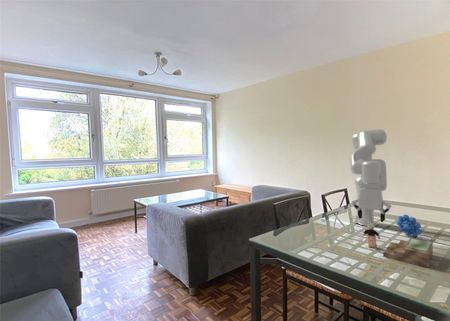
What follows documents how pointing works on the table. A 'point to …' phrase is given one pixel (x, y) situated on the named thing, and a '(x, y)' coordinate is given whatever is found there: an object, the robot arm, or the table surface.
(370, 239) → the grandmother figurine
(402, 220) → the grapes
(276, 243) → the table surface
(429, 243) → the step riser
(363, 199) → the robot arm
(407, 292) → the table surface
